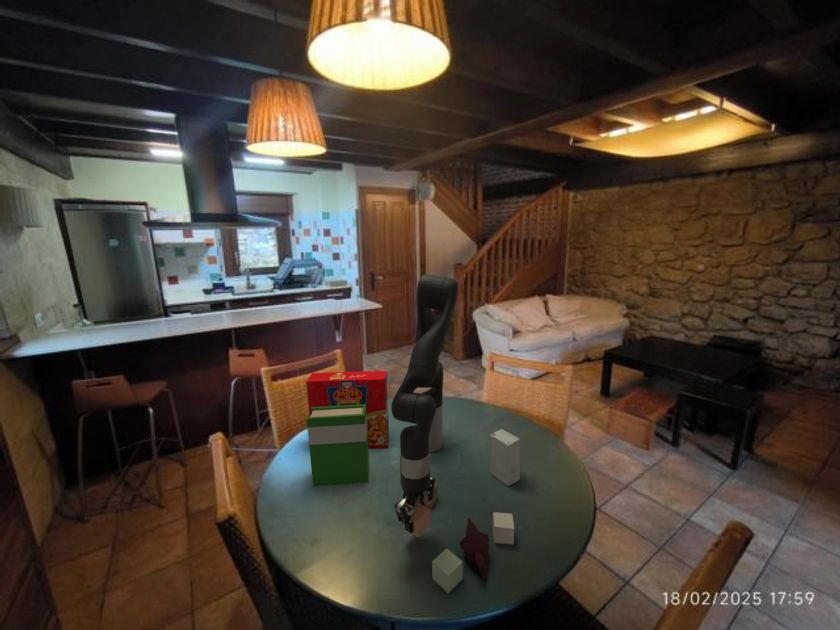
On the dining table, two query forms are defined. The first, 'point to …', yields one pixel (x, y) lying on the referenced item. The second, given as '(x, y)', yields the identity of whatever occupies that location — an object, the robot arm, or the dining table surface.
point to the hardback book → (338, 445)
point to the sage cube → (447, 570)
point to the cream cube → (503, 528)
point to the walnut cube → (433, 496)
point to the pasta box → (355, 398)
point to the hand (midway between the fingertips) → (416, 523)
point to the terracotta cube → (420, 519)
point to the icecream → (476, 547)
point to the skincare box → (505, 457)
